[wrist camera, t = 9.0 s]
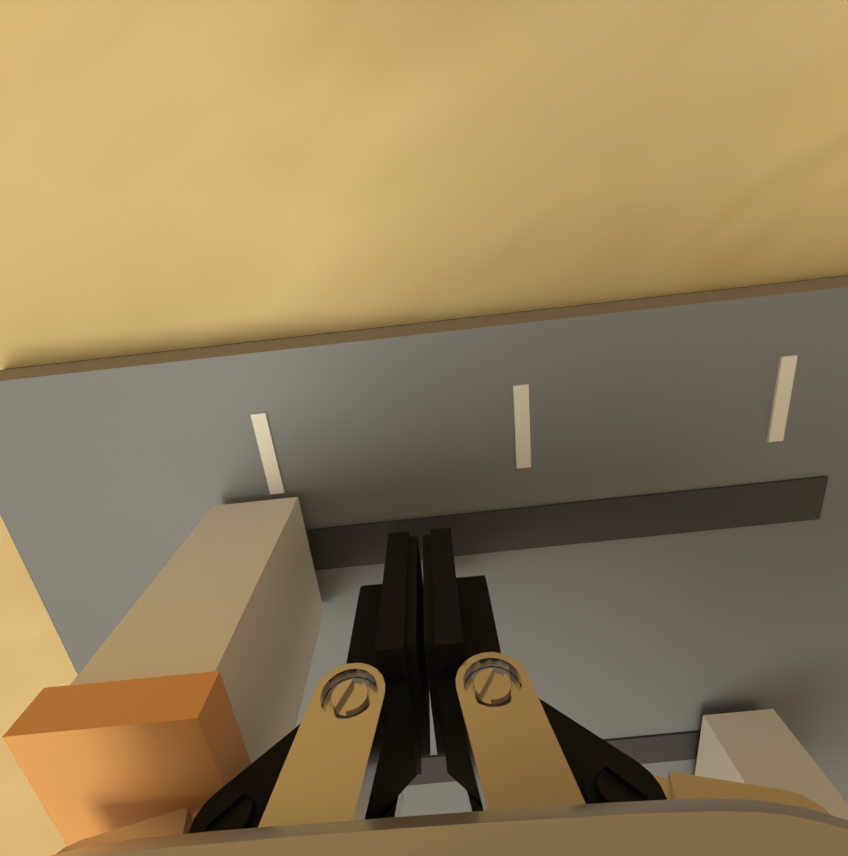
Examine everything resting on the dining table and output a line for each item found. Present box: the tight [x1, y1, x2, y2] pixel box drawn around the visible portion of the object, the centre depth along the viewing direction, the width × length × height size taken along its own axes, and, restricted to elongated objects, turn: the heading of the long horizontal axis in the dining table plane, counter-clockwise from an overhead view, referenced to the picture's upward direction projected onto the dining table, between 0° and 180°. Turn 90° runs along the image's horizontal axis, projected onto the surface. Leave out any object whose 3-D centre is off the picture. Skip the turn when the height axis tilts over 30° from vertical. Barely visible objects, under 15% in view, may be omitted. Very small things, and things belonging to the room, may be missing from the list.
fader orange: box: [3, 497, 324, 846], centre depth 11 cm, size 3×4×7 cm, turn 6°
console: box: [0, 276, 848, 817], centre depth 17 cm, size 28×22×2 cm
